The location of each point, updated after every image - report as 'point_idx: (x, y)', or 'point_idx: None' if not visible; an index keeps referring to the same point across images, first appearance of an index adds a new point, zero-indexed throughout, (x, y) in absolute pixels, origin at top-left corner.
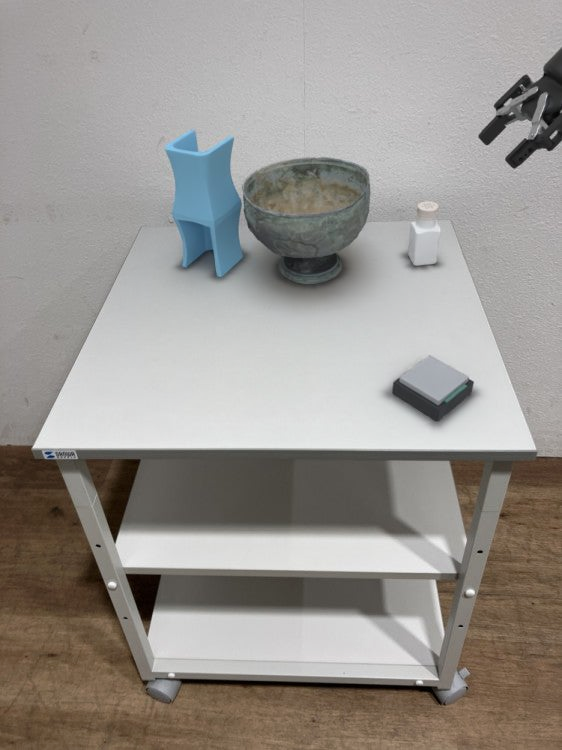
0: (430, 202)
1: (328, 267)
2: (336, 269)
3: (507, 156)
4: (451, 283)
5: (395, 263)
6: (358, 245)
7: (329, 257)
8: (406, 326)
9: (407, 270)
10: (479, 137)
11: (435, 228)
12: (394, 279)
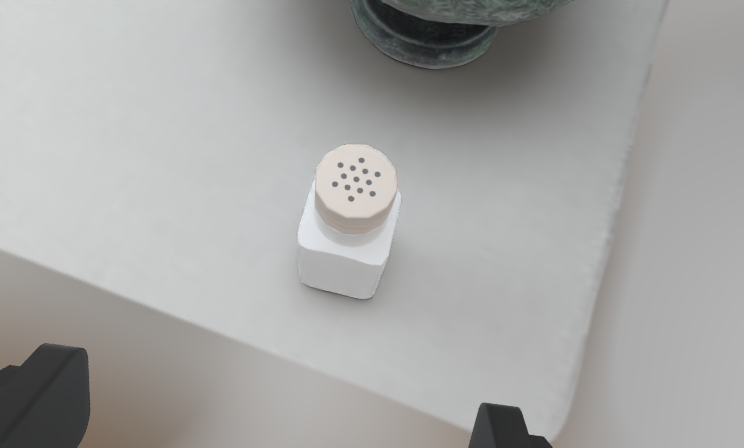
0: (377, 200)
1: (373, 2)
2: (370, 26)
3: (63, 352)
4: (189, 271)
5: None
6: (488, 143)
7: (411, 15)
8: (88, 78)
9: None
10: (494, 404)
11: (310, 226)
12: (286, 147)
